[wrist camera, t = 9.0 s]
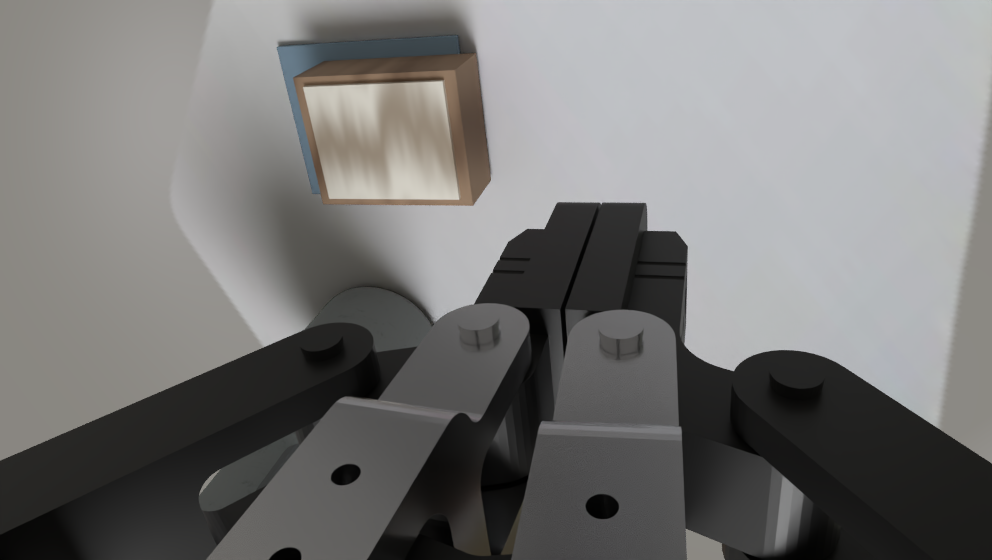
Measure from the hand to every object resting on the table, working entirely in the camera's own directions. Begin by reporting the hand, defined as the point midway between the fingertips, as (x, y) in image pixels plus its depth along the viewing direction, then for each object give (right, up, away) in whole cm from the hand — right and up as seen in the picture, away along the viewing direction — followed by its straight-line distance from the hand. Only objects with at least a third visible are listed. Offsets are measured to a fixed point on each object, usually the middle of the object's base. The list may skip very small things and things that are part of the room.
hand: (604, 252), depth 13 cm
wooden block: (-3, +8, +30) cm, 32 cm away
